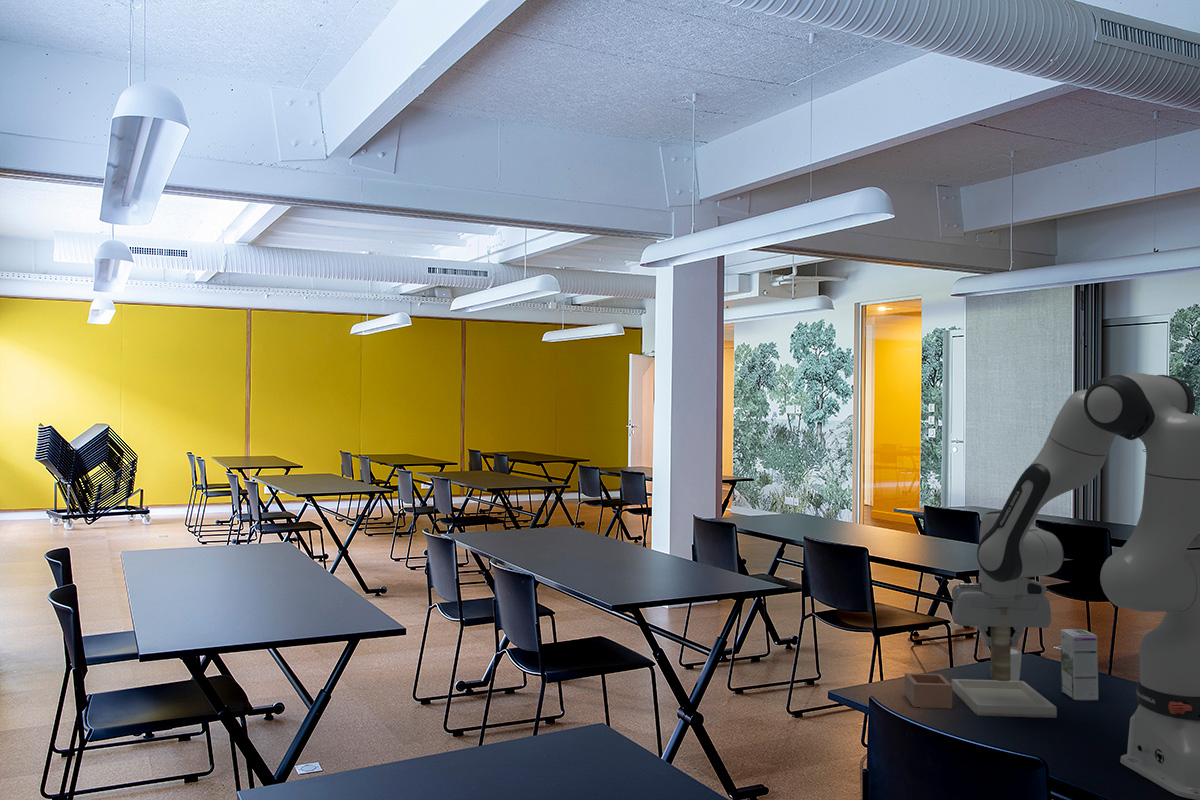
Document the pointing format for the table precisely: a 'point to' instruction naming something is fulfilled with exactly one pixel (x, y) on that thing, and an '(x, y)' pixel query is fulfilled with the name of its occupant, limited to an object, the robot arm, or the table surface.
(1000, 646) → the olive grey ringed cylinder
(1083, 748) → the table surface
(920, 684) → the brown square sleeve
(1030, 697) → the tray
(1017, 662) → the grey cup
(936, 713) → the table surface
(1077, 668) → the syrup box
